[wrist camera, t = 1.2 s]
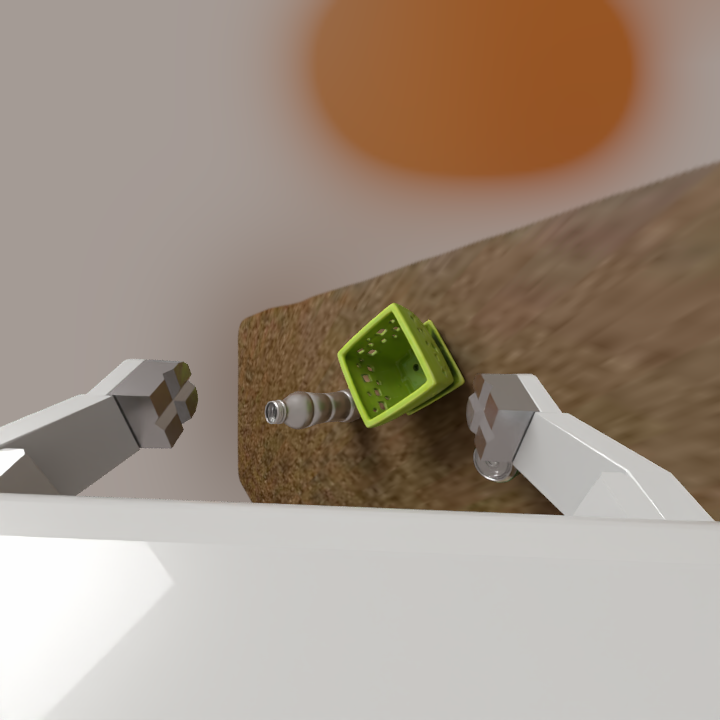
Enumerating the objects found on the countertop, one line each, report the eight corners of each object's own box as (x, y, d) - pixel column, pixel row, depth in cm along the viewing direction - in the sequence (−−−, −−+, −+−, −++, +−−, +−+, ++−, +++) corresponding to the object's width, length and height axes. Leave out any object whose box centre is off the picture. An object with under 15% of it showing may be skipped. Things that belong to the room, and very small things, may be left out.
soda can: (524, 471, 45) (491, 493, 36) (498, 440, 47) (461, 455, 39) (554, 449, 43) (526, 468, 34) (525, 418, 45) (491, 428, 36)
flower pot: (480, 384, 50) (438, 386, 40) (413, 423, 57) (365, 432, 48) (437, 311, 55) (392, 298, 46) (382, 356, 63) (333, 352, 54)
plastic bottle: (374, 409, 63) (288, 418, 49) (354, 427, 67) (267, 441, 52) (360, 382, 66) (274, 383, 52) (341, 400, 70) (255, 406, 55)
